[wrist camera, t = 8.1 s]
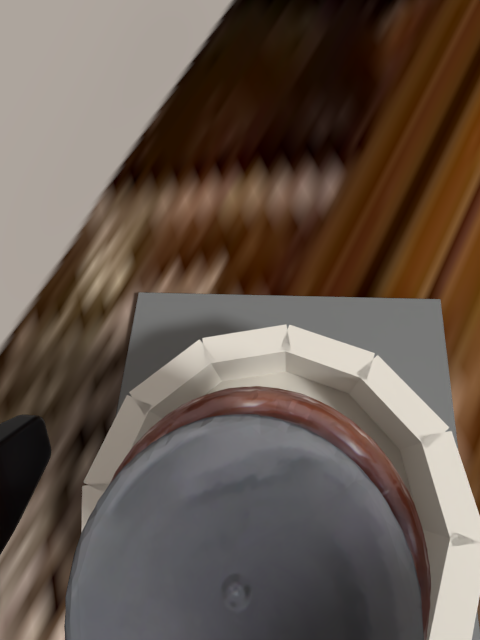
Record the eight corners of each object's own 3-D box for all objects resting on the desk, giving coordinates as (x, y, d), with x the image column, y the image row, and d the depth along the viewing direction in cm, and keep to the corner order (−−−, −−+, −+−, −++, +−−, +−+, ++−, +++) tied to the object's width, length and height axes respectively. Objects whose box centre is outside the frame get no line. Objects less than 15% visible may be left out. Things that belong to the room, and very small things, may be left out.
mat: (502, 866, 12) (509, 878, 11) (52, 782, 14) (45, 791, 13) (437, 303, 18) (440, 299, 18) (141, 296, 20) (138, 292, 20)
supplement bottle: (159, 489, 16) (-97, 501, 5) (286, 400, 16) (291, 252, 6) (246, 653, 13) (114, 1260, 3) (387, 542, 14) (683, 707, 4)
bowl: (512, 541, 14) (577, 556, 11) (247, 805, 13) (233, 914, 9) (291, 306, 19) (293, 268, 16) (70, 477, 17) (19, 474, 14)
